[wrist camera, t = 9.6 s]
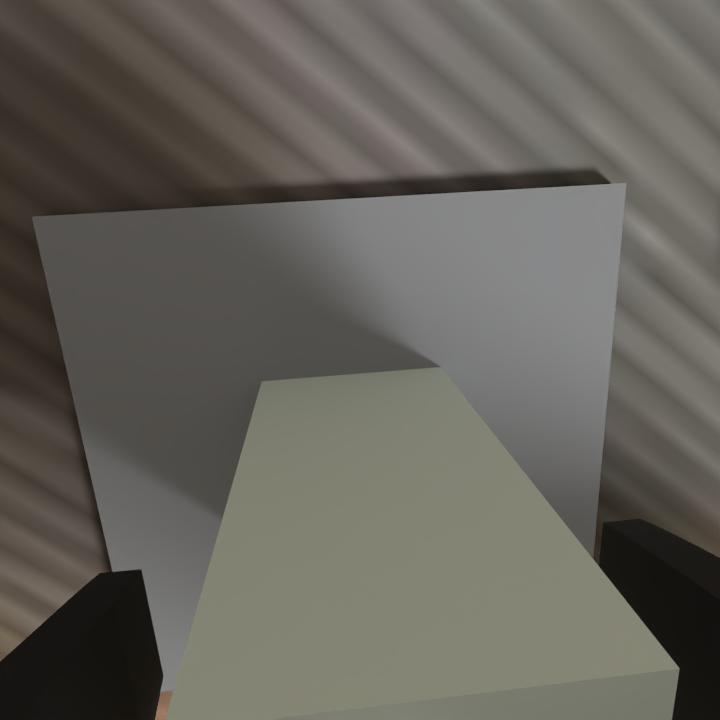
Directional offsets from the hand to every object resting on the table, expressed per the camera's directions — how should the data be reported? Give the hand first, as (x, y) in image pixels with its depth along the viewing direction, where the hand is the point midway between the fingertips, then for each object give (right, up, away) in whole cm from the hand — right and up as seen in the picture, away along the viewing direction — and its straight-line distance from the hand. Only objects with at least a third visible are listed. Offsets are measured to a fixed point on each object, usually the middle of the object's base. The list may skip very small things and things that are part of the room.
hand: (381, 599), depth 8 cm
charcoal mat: (0, +1, +5) cm, 5 cm away
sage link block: (0, +1, +4) cm, 4 cm away
